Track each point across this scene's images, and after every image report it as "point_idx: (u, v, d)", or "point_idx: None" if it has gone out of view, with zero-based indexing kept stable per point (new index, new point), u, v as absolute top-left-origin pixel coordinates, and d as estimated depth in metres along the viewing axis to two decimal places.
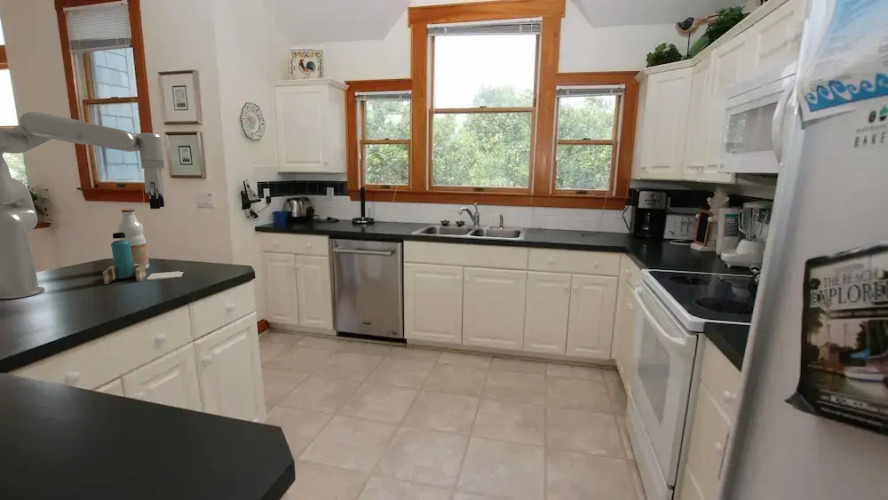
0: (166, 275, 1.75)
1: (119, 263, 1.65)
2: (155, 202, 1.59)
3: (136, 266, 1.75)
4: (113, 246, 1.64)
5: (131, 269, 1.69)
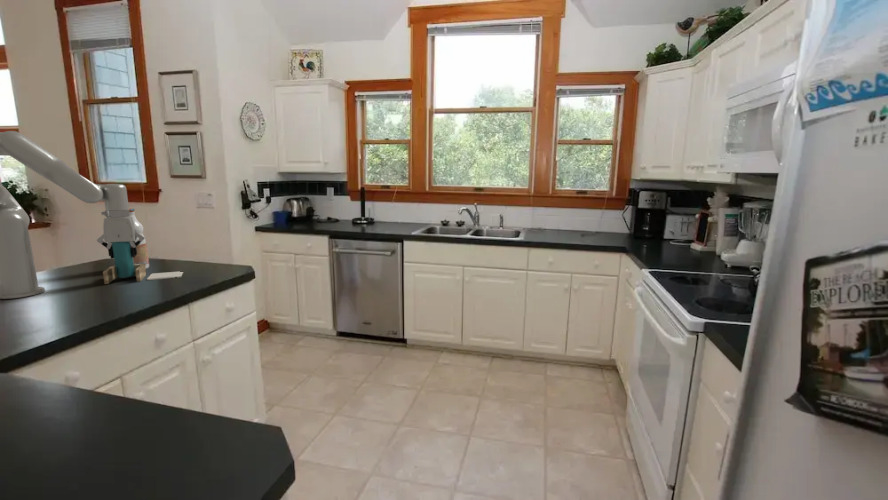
0: (166, 275, 1.75)
1: (120, 263, 1.65)
2: (136, 250, 1.70)
3: (136, 266, 1.75)
4: (114, 246, 1.64)
5: (131, 269, 1.69)
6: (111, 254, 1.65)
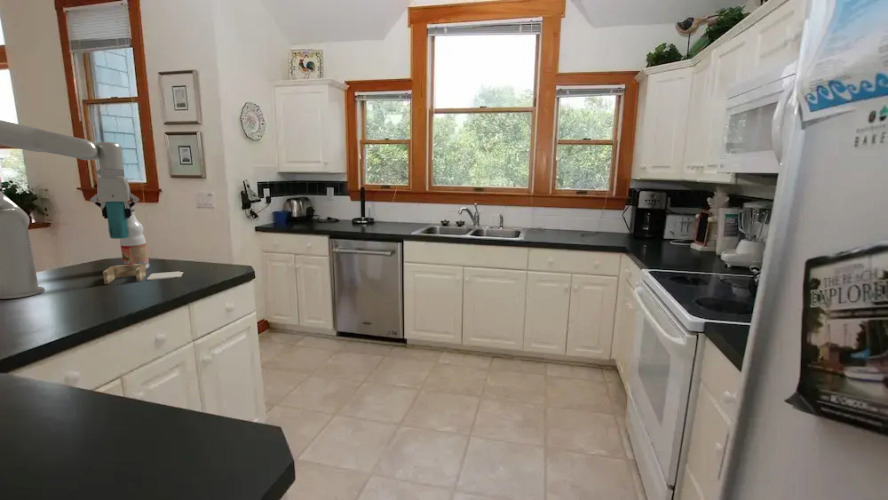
0: (166, 275, 1.75)
1: (113, 223, 1.62)
2: (130, 211, 1.67)
3: (136, 266, 1.75)
4: (108, 205, 1.61)
5: (125, 230, 1.65)
6: (105, 214, 1.62)
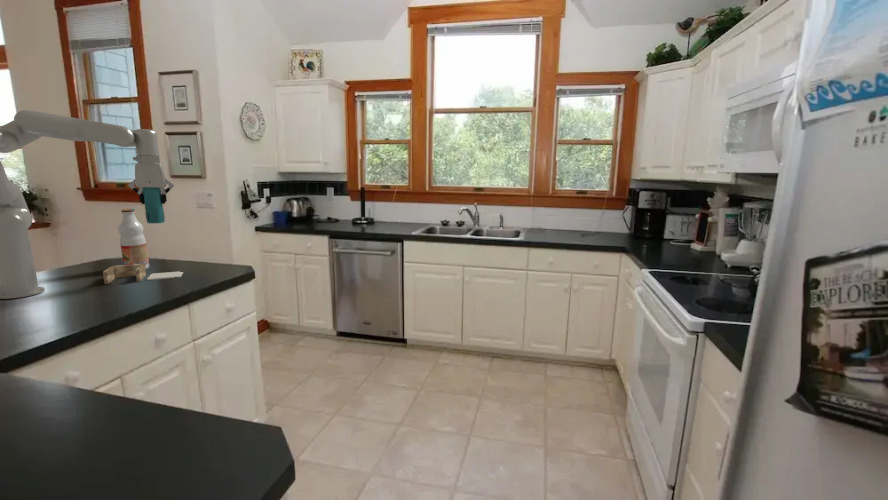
0: (166, 275, 1.75)
1: (150, 209, 1.67)
2: None
3: (136, 266, 1.75)
4: (145, 191, 1.65)
5: (161, 216, 1.70)
6: (142, 200, 1.66)
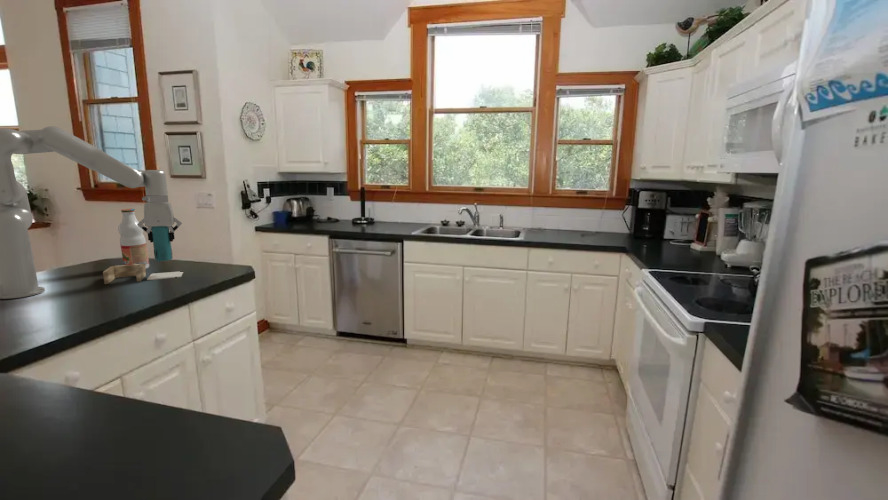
0: (166, 275, 1.75)
1: (159, 247, 1.70)
2: (173, 235, 1.75)
3: (136, 266, 1.75)
4: (154, 230, 1.69)
5: (169, 253, 1.74)
6: (150, 238, 1.70)
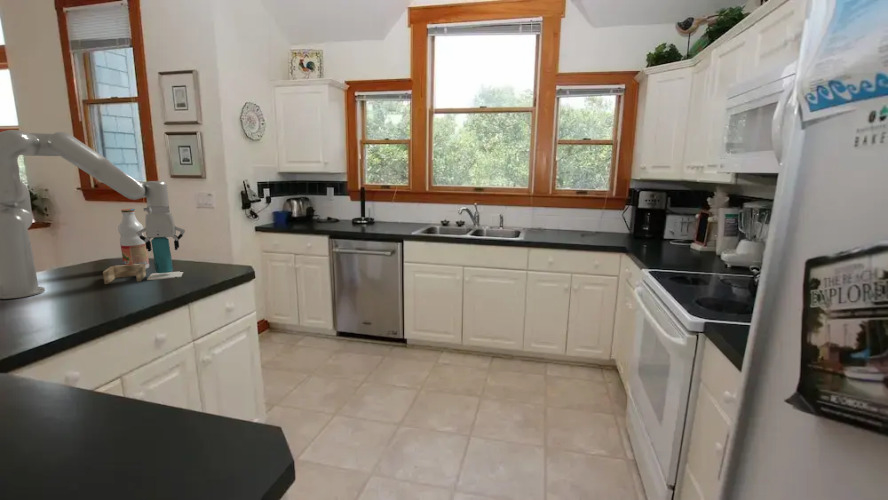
0: (166, 275, 1.75)
1: (159, 259, 1.71)
2: (178, 243, 1.76)
3: (136, 266, 1.75)
4: (153, 243, 1.70)
5: (170, 265, 1.74)
6: (148, 247, 1.70)
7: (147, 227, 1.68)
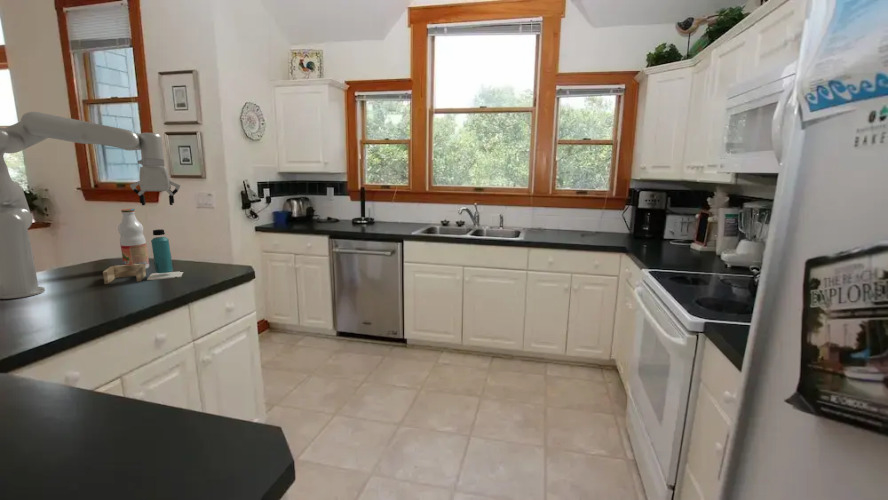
0: (166, 275, 1.75)
1: (159, 259, 1.71)
2: (173, 198, 1.73)
3: (136, 266, 1.75)
4: (153, 243, 1.70)
5: (170, 265, 1.74)
6: (142, 201, 1.67)
7: (141, 180, 1.64)
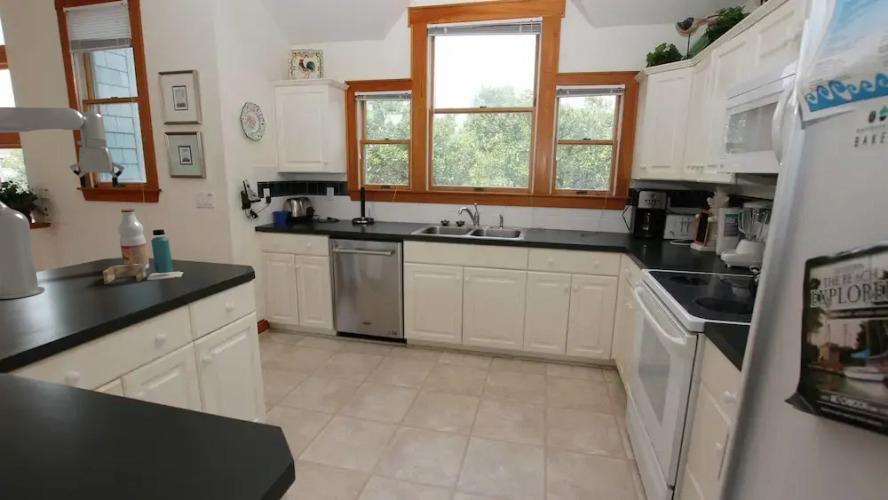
0: (166, 275, 1.75)
1: (159, 259, 1.71)
2: (117, 180, 1.68)
3: (136, 266, 1.75)
4: (153, 243, 1.70)
5: (170, 265, 1.74)
6: (83, 183, 1.62)
7: (81, 161, 1.60)
